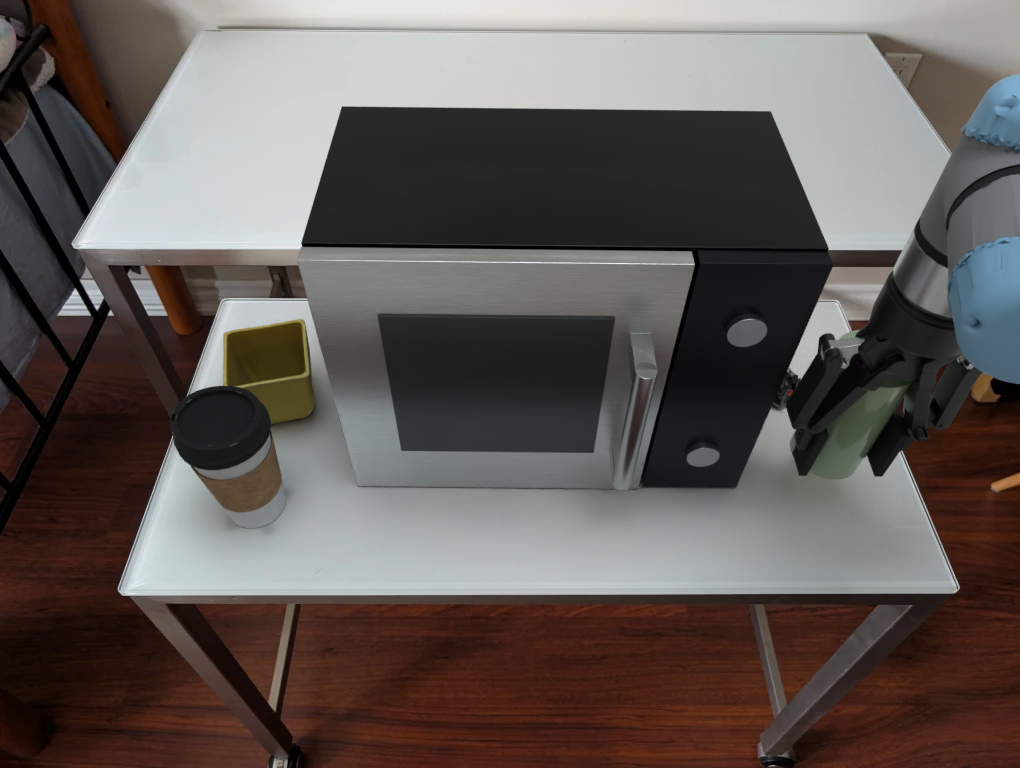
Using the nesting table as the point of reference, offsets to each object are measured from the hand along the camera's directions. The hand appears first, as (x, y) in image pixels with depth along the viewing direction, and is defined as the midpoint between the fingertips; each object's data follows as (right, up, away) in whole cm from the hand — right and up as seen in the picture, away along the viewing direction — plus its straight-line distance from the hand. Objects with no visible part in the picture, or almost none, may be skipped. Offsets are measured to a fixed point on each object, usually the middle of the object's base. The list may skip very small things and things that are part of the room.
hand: (836, 464), depth 73 cm
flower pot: (-58, +5, +13) cm, 60 cm away
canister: (0, +1, +3) cm, 3 cm away
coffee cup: (-58, -5, +5) cm, 59 cm away
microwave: (-28, +5, +13) cm, 31 cm away
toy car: (-1, +9, +17) cm, 19 cm away
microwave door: (-33, -4, +5) cm, 34 cm away
